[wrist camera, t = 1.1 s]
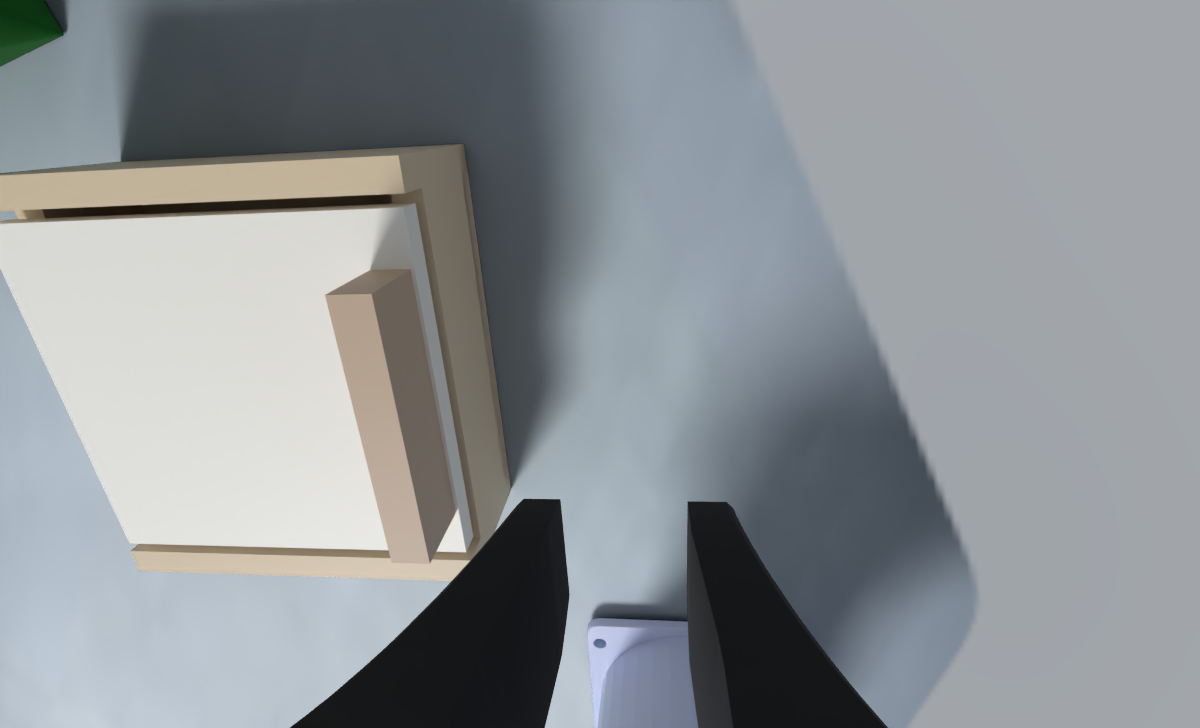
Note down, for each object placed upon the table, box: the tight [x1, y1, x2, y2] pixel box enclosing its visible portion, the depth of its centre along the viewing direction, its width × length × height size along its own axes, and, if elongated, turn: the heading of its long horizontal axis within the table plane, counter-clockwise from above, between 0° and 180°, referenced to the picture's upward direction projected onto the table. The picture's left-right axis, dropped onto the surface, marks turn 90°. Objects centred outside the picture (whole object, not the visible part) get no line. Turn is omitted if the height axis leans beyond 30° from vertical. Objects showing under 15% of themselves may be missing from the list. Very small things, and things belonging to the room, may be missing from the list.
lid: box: [0, 203, 473, 564], centre depth 15 cm, size 10×11×3 cm
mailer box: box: [0, 144, 511, 581], centre depth 18 cm, size 12×11×5 cm
